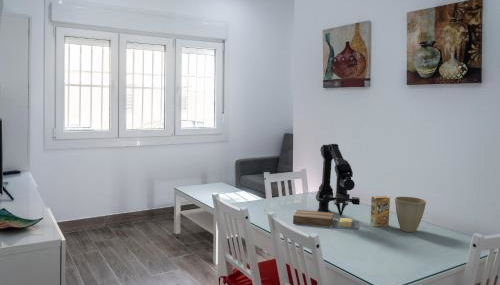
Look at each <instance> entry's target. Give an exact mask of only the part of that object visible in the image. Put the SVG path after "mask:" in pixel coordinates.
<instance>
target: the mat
mask: <svg viewBox="0 0 500 285" xmlns="http://www.w3.org/2000/svg"><path fill="white" fill-rule="evenodd" d="M339 221H340V218H339V219H338V218H333V223H332V227H331V228H334V229H342V230H352V231H353V230H354V231H359V229H360V221H358V220H352V224H351V227H346V226H339Z"/></svg>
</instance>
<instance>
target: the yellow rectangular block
mask: <svg viewBox="0 0 500 285" xmlns="http://www.w3.org/2000/svg"><path fill="white" fill-rule="evenodd" d="M339 219H340V221H339V226H346V227H351V224H352V221H353V219H352V218H347V217H340V218H339Z"/></svg>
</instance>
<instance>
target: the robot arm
mask: <svg viewBox="0 0 500 285" xmlns="http://www.w3.org/2000/svg"><path fill="white" fill-rule="evenodd" d="M320 155H321V157H322V159H323V161H322V162H323V163H322V178H321V184H320V186H319V187H318V190H317V192H316V195H315V201H317V202H318V209H317V211H318V212H330V208H329V204H330V202H333V205H335V206H336V208H337V210H338V215H339V217H342V215H343V212H344V210H345V208H346V207H347V206H349V203H351V204H352V205H355V206H357V205H358V206H359V205H361V204H360V203H361V201H360V200H361V198H360V197H355V196H352V197H351V196H350V193H348V191H351V190H353V189H354V188H355V185H356V184H355V181H354V180H353V179H352V178H353V174H354V172H353V170H352V166H351V164H350V163H349V161H348V160H346V159H344V157H343V155H342V153H341V150H340V148H339V144H337V143H328V144H322V146H320ZM333 161H334V163H335V165H334V171H335V176H336V185H335V186H336V187H335V197H334V192H333V190H334V189H333V188H332V185H331V179H332V178H331V176H332V164H333V163H332V162H333ZM350 197H351V198H350ZM341 204H342V205H341Z"/></svg>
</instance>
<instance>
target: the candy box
mask: <svg viewBox="0 0 500 285" xmlns="http://www.w3.org/2000/svg"><path fill="white" fill-rule="evenodd" d="M370 200H371V201H370V202H371V204H370V222H369V224H370V226H372V227H389V225H390V223H389V222H390V209H391V208H390V206H391V197H390V196H387V195H377V196H371V199H370Z"/></svg>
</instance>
